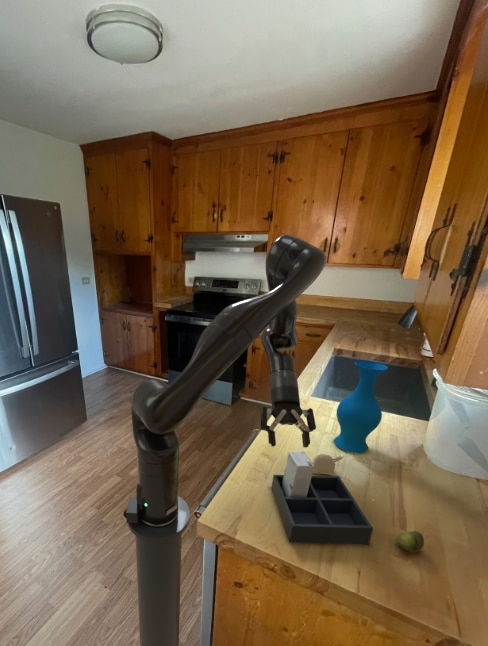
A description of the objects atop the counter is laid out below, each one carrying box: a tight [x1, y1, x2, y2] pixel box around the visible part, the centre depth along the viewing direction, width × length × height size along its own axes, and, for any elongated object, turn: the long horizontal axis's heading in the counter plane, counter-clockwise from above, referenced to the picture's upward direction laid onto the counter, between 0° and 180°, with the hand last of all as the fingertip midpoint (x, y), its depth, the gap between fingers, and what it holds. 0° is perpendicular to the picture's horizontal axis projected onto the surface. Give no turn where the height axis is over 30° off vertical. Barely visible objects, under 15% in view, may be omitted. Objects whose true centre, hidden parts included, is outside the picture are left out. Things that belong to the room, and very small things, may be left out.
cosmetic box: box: [281, 450, 314, 497], centre depth 80 cm, size 6×4×12 cm
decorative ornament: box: [311, 453, 344, 476], centre depth 93 cm, size 4×8×5 cm, turn 76°
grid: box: [270, 474, 374, 545], centre depth 78 cm, size 17×17×5 cm
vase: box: [333, 359, 389, 454], centre depth 102 cm, size 12×13×28 cm
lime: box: [395, 530, 425, 553], centre depth 69 cm, size 4×5×5 cm
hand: (289, 446), depth 86 cm, fingers open, 8 cm apart
